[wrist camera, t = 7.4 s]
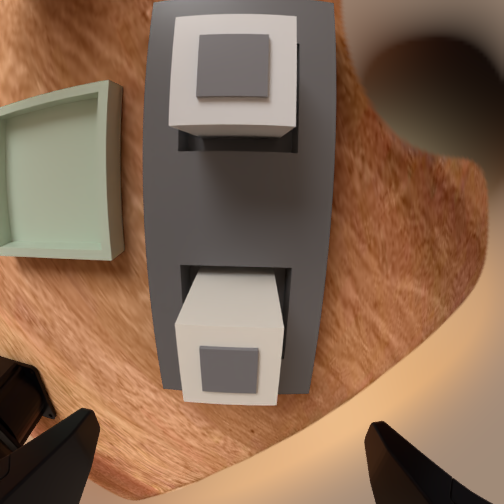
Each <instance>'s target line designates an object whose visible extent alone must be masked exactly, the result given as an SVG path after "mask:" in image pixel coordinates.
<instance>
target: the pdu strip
mask: <svg viewBox="0 0 504 504" xmlns="http://www.w3.org/2000/svg"><path fill="white" fill-rule="evenodd" d="M212 14H268V15H285V16H297V86H296V127H294V128H293V129H292V130H290V131H289V132H287V133H286V134H285V135H283V136H282V137H280V138H279V139H249V138H200V137H197V136H195V135H192V134H189V133H187V132H184V131H181V130H179V129H176V128H173V127H170V126H169V100H170V81H171V65H172V52H173V40H174V29H175V19H176V17H183V16H195V15H212ZM335 136H336V45H335V20H334V3H329V2H322V1H314V0H169V1H161V2H154V4H153V11H152V19H151V26H150V35H149V44H148V55H147V66H146V79H145V95H144V118H143V202H144V226H145V243H146V257H147V269H148V280H149V291H150V300H151V309H152V317H153V325H154V333H155V340H156V347H157V353H158V360H159V366H160V372H161V378H162V384H163V389H173V390H182V384H181V376H180V368H179V359H178V350H177V341H176V331H175V322H176V320H177V318H178V316H179V313H180V311H181V309H182V306H183V304H184V302H185V300H186V297H187V295H188V293H189V291H190V288H191V286H192V284H193V282H194V279H195V277H196V275H197V273H198V271H199V268H200V266H201V265H202V266H239V267H273V270H274V275H275V280H276V286H277V291H278V297H279V302H280V308H281V313H282V319H283V325H284V335H283V346H282V356H281V367H280V377H279V386H278V394H308V393H309V389H310V384H311V378H312V372H313V366H314V359H315V353H316V346H317V340H318V333H319V326H320V318H321V311H322V303H323V295H324V286H325V278H326V268H327V259H328V248H329V237H330V225H331V213H332V198H333V182H334V162H335Z"/></svg>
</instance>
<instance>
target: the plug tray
mask: <svg viewBox="0 0 504 504" xmlns="http://www.w3.org/2000/svg"><path fill="white" fill-rule="evenodd" d="M122 91H123V86H121V85H119V84H117V83H115V82H112V81H110V80H105V81H99V82H94V83H89V84H84V85H79V86H74V87H70V88H65V89H61V90H57V91H53V92H49V93H46V94H42V95H38V96H35V97H31V98H28V99H25V100H21V101H18V102H15V103H12V104H9V105H6V106H3V107H0V256H17V257H38V258H60V259H84V260H109V261H112V260H113V259H114V258H116V257H117V256H118V255H119V254H121V253H122V252H123V251H124V250H125V248H124V236H123V222H122V203H121V168H120V142H121V109H122Z"/></svg>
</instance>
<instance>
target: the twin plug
mask: <svg viewBox="0 0 504 504" xmlns="http://www.w3.org/2000/svg"><path fill="white" fill-rule="evenodd" d="M296 86H297V16H285V15H268V14H212V15H195V16H183V17H176V19H175V29H174V40H173V52H172V65H171V81H170V100H169V126H170V127H173V128H176V129H179V130H181V131H184V132H187V133H189V134H192V135H195V136H197V137H200V138H249V139H279V138H280V137H282V136H283V135H285V134H286V133H287V132H289V131H290V130H292V129H293V128H294V127H296Z"/></svg>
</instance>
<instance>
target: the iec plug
mask: <svg viewBox="0 0 504 504" xmlns="http://www.w3.org/2000/svg"><path fill="white" fill-rule="evenodd" d="M175 331H176V341H177V350H178V359H179V368H180V376H181V384H182V391H183V399H184V401H186V402H197V403H211V404H230V405H277V396H278V386H279V377H280V367H281V356H282V346H283V335H284V325H283V319H282V313H281V308H280V302H279V297H278V291H277V286H276V280H275V275H274V270H273V267H239V266H202V265H201V266H200V268H199V271H198V273H197V275H196V277H195V279H194V282H193V284H192V286H191V288H190V291H189V293H188V295H187V297H186V300H185V302H184V304H183V306H182V309H181V311H180V313H179V316H178V318H177V320H176V322H175Z"/></svg>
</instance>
